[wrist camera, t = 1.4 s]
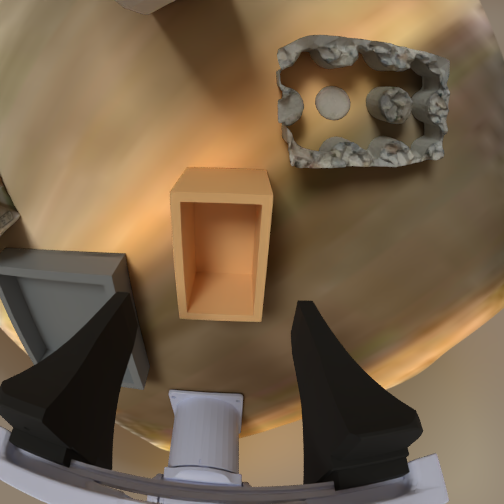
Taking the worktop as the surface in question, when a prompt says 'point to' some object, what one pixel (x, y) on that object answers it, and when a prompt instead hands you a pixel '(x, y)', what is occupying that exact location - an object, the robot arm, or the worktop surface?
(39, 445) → the robot arm
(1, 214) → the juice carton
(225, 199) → the orange crate
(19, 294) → the charcoal bin
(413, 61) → the egg carton
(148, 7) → the soap bottle
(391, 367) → the worktop surface
